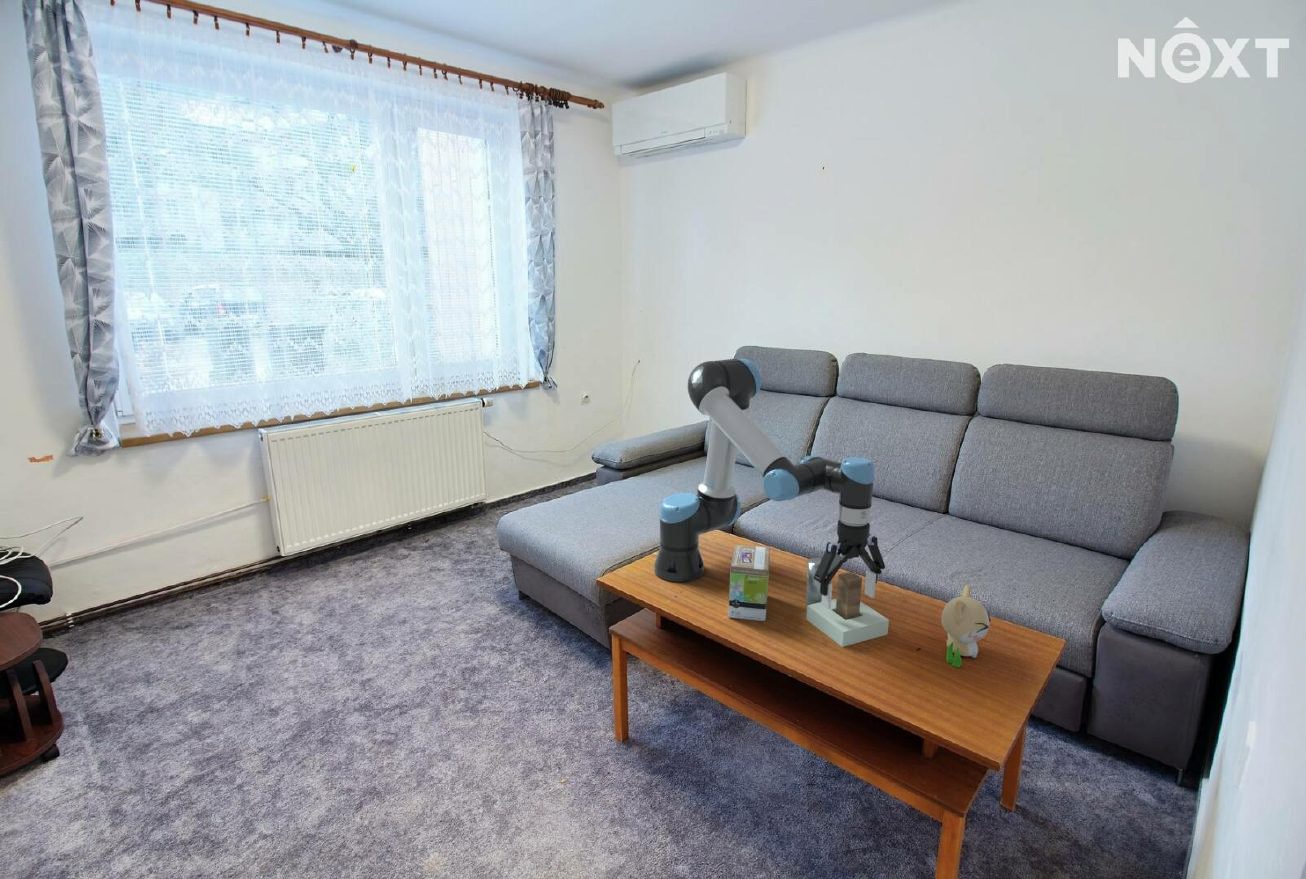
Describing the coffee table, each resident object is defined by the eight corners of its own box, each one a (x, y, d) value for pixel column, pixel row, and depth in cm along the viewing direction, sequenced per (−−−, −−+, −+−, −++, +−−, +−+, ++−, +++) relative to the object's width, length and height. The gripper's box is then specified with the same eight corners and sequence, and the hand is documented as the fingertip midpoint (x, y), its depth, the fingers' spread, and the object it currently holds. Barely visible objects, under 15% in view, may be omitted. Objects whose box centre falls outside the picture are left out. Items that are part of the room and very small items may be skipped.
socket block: (806, 619, 160) (807, 605, 159) (849, 608, 165) (850, 594, 164) (842, 647, 147) (843, 632, 146) (887, 634, 152) (888, 619, 152)
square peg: (834, 624, 157) (838, 574, 154) (847, 621, 159) (851, 571, 155) (845, 632, 153) (849, 581, 150) (858, 629, 155) (862, 578, 152)
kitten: (978, 675, 136) (986, 614, 132) (930, 660, 142) (937, 601, 138) (990, 645, 148) (998, 588, 144) (945, 632, 153) (951, 576, 150)
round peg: (801, 600, 170) (803, 559, 167) (819, 596, 172) (821, 556, 169) (814, 609, 164) (816, 568, 162) (832, 605, 167) (834, 564, 164)
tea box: (766, 622, 159) (769, 569, 155) (727, 618, 160) (729, 566, 157) (768, 594, 173) (770, 545, 169) (732, 591, 175) (733, 543, 171)
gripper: (821, 534, 141) (816, 617, 146) (904, 518, 151) (897, 597, 156) (802, 523, 148) (797, 603, 153) (882, 509, 158) (876, 585, 163)
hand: (847, 600), depth 154 cm, fingers open, 13 cm apart
